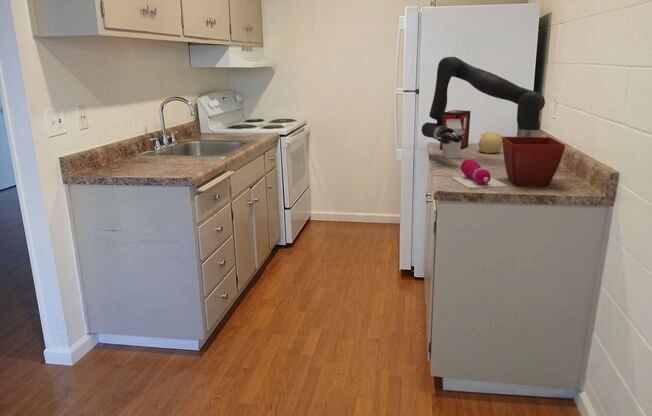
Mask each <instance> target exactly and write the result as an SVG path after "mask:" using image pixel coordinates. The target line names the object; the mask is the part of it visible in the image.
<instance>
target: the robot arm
mask: <svg viewBox="0 0 652 416" xmlns="http://www.w3.org/2000/svg"><path fill="white" fill-rule="evenodd" d="M451 78H456V79H460V80H462V81H465V82H467V83H468V84H470V85H471V86H472V87H473V88H474V89H475V90H477V91H478V92H481V93H483V94H485V95H487V96H488V97H489V96H490V97H492V98H496V99H500V100H505V101H509V102H512V103H514V104H516V105H517V110H516V111H517V112H516V123H517V131H516V137H540V130H541V122H540V120H539V119H540V111H541V110H542V109H543V108H544V107H545V105H546V100H545V97H544V96H543V94H542V93H541V92H538V91H534V90H531V89H527V88H526V87H525V88H524V87H523V86H519V85H517V84H515V83H514V82H512V81H509V80H507V79H505V78H503V77H501V76H499V75H497V74H494V73H493V72H492V73H491V72H489V71H487V70H484V69H482V68H477V67H475V66H473V65H471V64H469V63H467V62H465V61H464V60H462V59H460V58H458V57H455V56H446V57H445V56H444V57H443V58H442V59H441V60H440V61H439V62H438V65H437V71H436V81H435V88H434V94H433V99H432V103H431V107H430V111H429V117H430V119H432V120H435V121H436V123H435V122H425V123H423V125H422V126H421V135H423V136H424V137H426V138H431V139H434V140H436V141H438V142H439V143H440V142H442V143H444V144H449V143H451V142H456V143H459V142H460V141H462V140H464V134H460V135H458V134H455V132H454V131H453V130H452V129H451V128H448V127H445V126H443V118H444V113H445V112H446V108H447V104H448V88H449V84H450V81H451Z"/></svg>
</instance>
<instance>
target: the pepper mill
mask: <svg viewBox="0 0 652 416" xmlns="http://www.w3.org/2000/svg"><path fill="white" fill-rule="evenodd" d="M460 171H461V172H462V173H463V175H464V177H465V176H466V177H468V178H474V179H475V181H476V182H477V183H478V184H480V185H485V184H487V183H488V182H489V181H490V179H491V178H492V176H491V172H489V170H487V169H484V168H482V166H481V165H480V163H479V162H478V161H475V160H473V159H466V160H464V161H463V162H462V163H461V165H460Z"/></svg>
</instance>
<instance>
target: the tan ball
mask: <svg viewBox="0 0 652 416" xmlns="http://www.w3.org/2000/svg"><path fill="white" fill-rule="evenodd" d="M502 137H504V136H503V134H499V133H497V132H494V131H491V132H484V133H482V134H481V137H480V138H479V142H478V149H479V150H480V151H481V152H482V153H486V154H496V153H499V152H500V151H501V149H502V148H503V138H502Z"/></svg>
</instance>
